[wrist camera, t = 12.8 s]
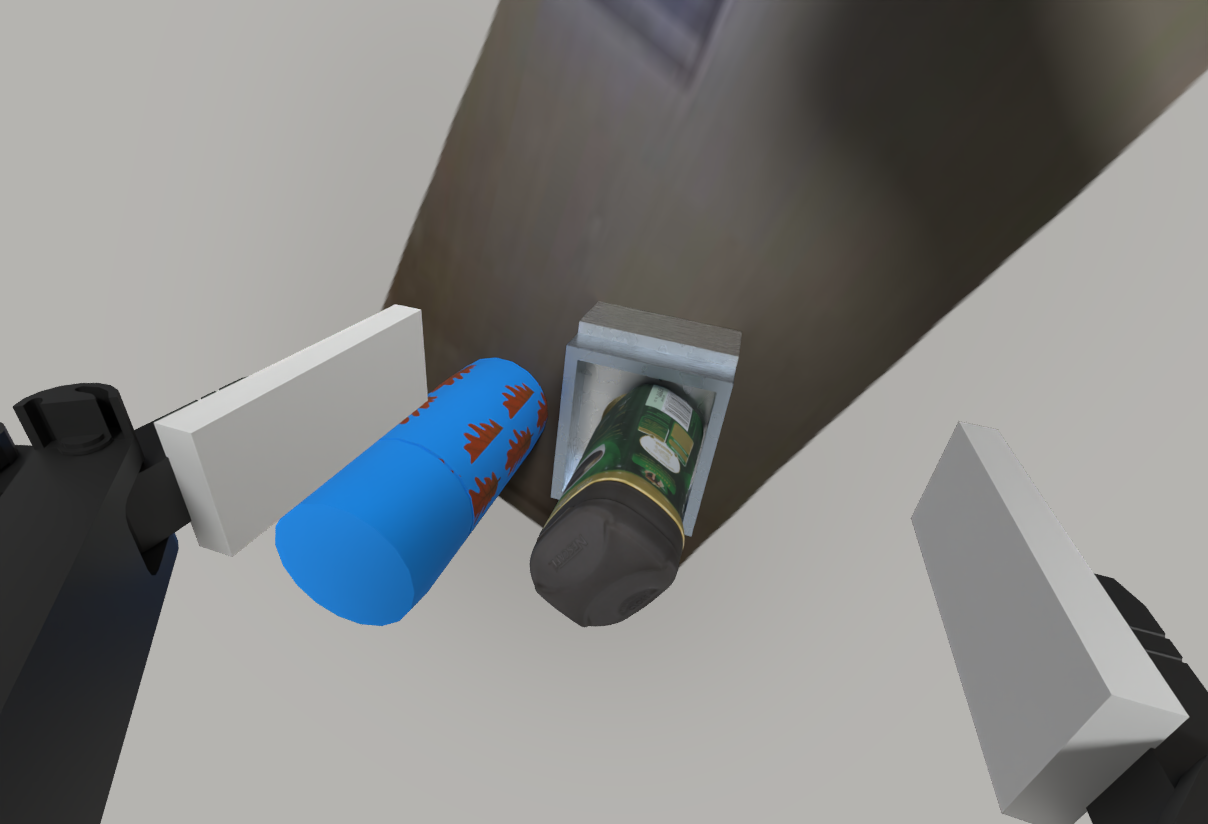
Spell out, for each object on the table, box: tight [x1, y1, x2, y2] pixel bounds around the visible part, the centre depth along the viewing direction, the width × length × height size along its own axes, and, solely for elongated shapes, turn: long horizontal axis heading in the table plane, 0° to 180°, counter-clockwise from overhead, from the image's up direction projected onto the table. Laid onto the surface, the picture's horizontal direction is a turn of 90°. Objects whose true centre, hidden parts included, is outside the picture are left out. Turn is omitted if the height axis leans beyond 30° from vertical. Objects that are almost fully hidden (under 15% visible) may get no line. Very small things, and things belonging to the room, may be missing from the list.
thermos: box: [275, 358, 548, 626], centre depth 47 cm, size 11×11×25 cm
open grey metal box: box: [551, 301, 742, 536], centre depth 49 cm, size 13×17×9 cm
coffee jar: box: [530, 384, 704, 627], centre depth 39 cm, size 10×8×19 cm
